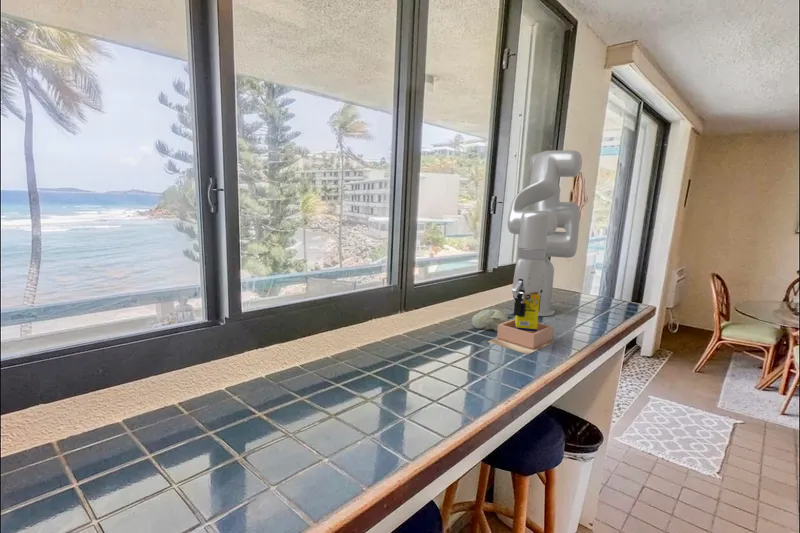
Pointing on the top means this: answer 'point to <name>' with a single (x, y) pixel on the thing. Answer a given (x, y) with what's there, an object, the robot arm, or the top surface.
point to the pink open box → (525, 335)
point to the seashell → (489, 319)
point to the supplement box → (529, 313)
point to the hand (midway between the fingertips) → (526, 313)
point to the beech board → (515, 346)
